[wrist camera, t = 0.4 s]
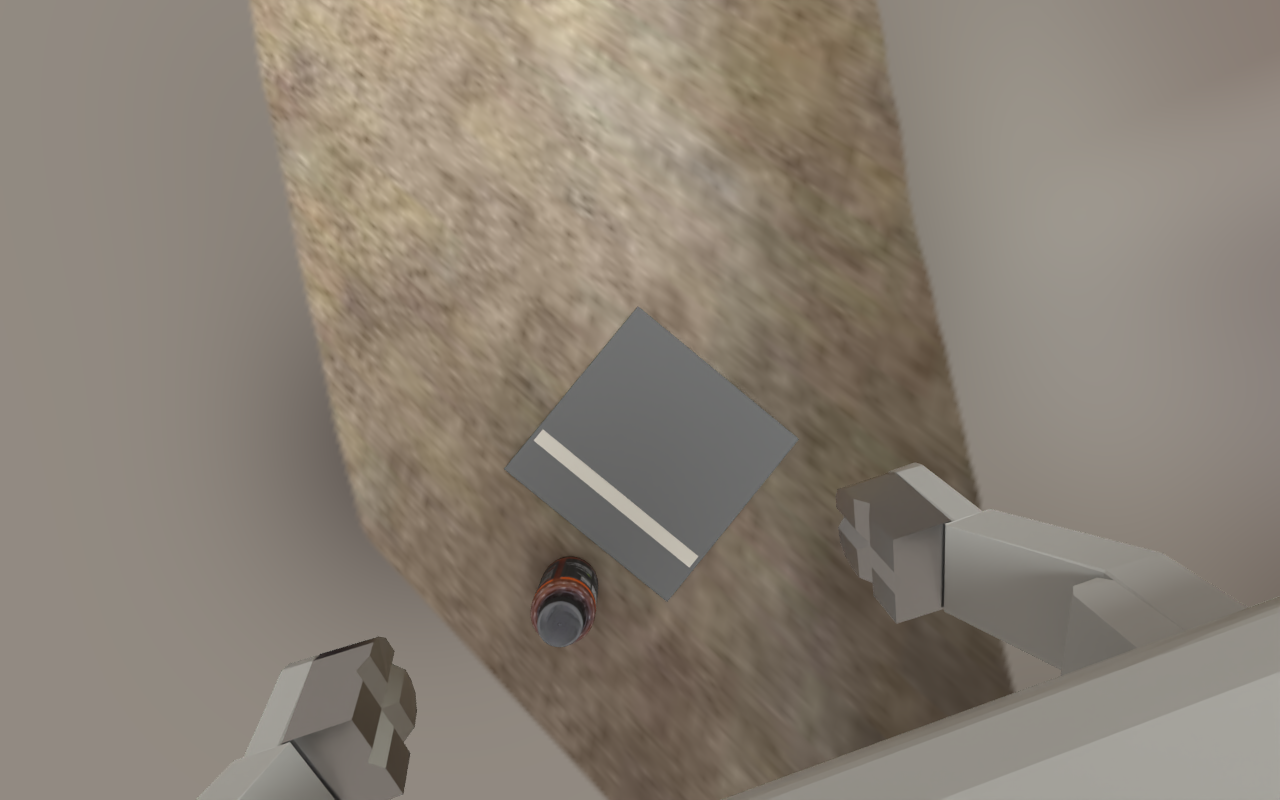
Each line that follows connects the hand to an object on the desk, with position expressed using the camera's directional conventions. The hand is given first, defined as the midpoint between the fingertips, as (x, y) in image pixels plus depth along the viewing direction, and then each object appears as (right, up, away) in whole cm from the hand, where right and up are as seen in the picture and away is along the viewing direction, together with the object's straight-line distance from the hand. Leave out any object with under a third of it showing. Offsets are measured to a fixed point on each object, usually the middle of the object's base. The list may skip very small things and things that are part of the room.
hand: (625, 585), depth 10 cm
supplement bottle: (-7, -16, +51) cm, 54 cm away
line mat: (+2, -2, +51) cm, 51 cm away
